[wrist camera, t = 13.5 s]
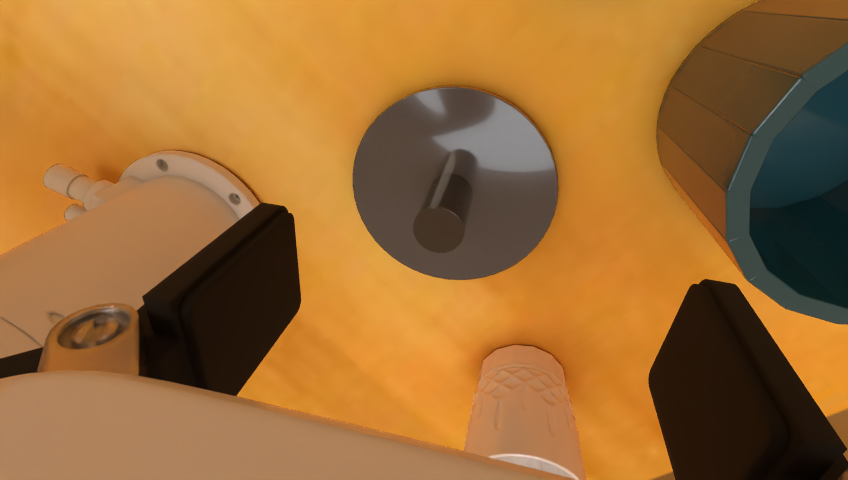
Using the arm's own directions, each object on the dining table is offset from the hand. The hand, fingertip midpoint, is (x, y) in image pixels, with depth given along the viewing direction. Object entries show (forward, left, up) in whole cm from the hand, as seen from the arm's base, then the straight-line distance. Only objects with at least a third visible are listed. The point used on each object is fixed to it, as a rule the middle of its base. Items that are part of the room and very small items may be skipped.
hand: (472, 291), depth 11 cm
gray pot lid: (-1, -5, -18) cm, 18 cm away
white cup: (+11, -18, -18) cm, 28 cm away
